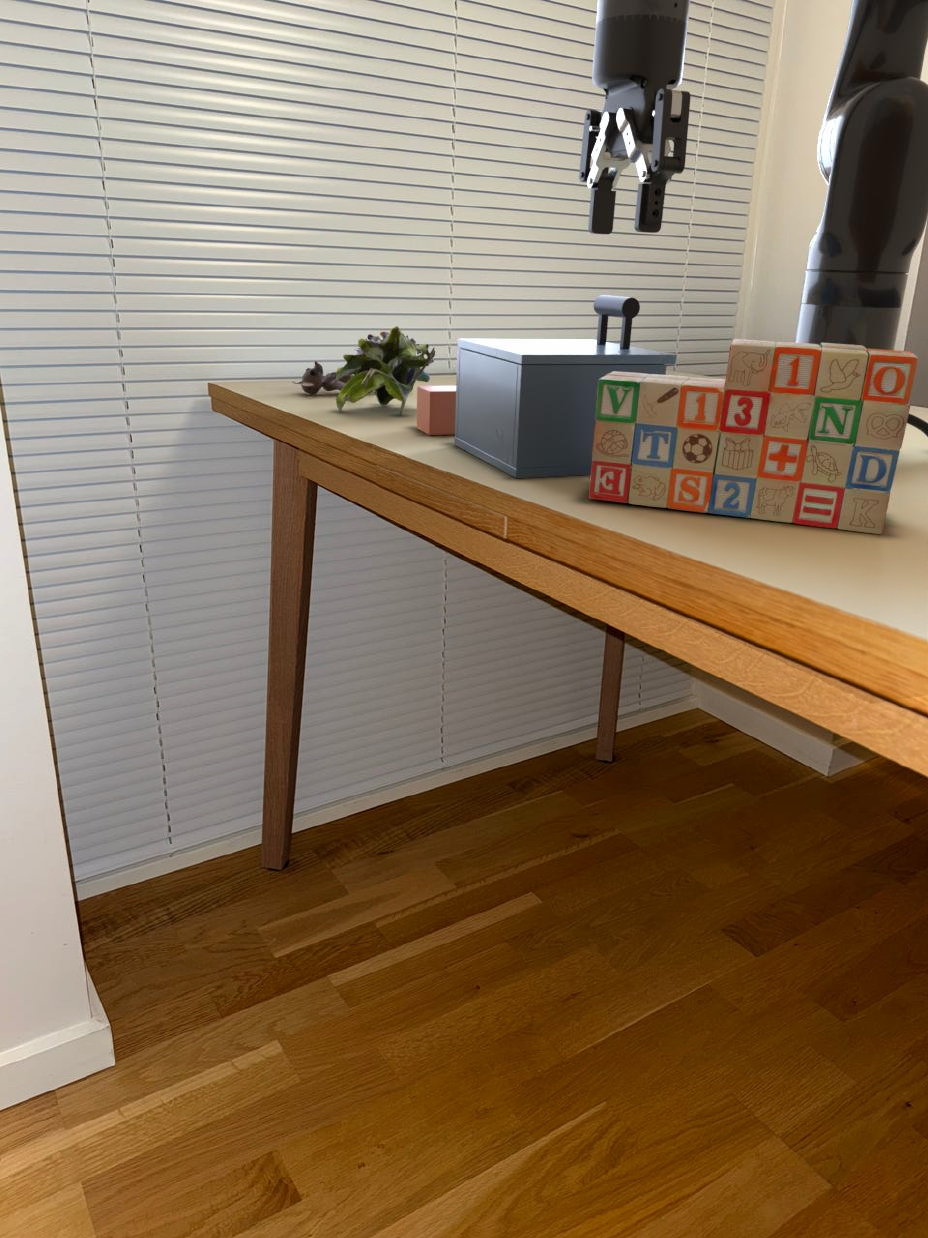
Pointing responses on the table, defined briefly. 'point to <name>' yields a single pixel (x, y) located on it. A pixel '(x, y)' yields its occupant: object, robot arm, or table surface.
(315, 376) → the grey irregular figure
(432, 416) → the block
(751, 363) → the stack of blocks
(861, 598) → the table surface
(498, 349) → the lid
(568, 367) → the blue-grey open box
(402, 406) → the green leafy plant
